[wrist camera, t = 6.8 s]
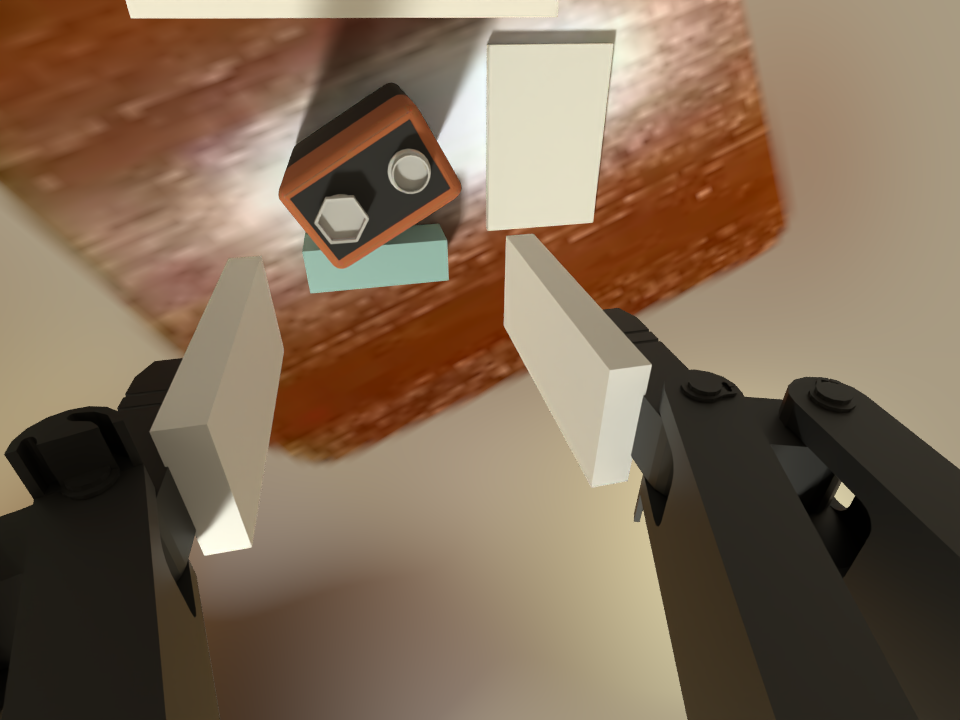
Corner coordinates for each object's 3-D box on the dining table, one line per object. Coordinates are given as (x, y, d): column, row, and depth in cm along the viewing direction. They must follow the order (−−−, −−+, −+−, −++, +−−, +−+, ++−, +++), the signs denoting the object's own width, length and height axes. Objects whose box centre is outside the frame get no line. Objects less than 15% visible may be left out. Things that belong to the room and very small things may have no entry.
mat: (486, 44, 28) (489, 45, 28) (609, 43, 29) (613, 43, 29) (485, 227, 34) (488, 230, 33) (589, 219, 35) (592, 222, 34)
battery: (288, 148, 29) (269, 199, 21) (393, 77, 28) (416, 101, 20) (338, 214, 31) (339, 284, 23) (436, 151, 31) (471, 199, 22)
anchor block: (305, 233, 31) (302, 251, 29) (438, 223, 33) (447, 240, 30) (312, 272, 33) (310, 293, 30) (440, 261, 34) (448, 280, 32)
